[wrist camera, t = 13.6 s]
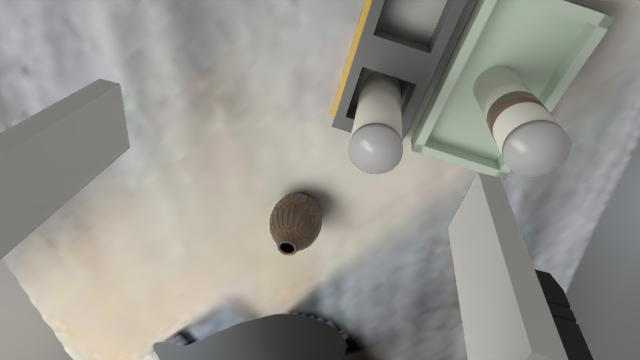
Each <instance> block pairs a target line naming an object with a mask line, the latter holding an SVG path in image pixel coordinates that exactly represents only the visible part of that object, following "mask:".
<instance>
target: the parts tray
mask: <svg viewBox="0 0 640 360" xmlns="http://www.w3.org/2000/svg"><path fill="white" fill-rule="evenodd" d="M615 19H616V18H615V17H613V16H610V15H608V14H605V13H603V12H600V11H597V10H594V9H591V8H588V7H585V6H582V5H579V4H575V3H572V2H569V1H566V0H477V2H476V4H475V6H474V8H473V11H472V13H471V15H470V17H469V19H468V21H467V23H466V25H465V27H464V30H463V32H462V34H461V36H460V38H459V40H458V42H457V44H456V46H455V49H454V51H453V53H452V55H451V57H450V59H449V61H448V63H447V65H446V68H445V70H444V72H443V74H442V76H441V78H440V80H439V82H438V84H437V87H436V89H435V91H434V93H433V95H432V97H431V99H430V101H429V103H428V106H427V108H426V110H425V112H424V114H423V116H422V118H421V120H420V122H419V125H418V127H417V129H416V131H415V133H414V135H413V137H412V139H411V144H412V151H415V152H418V153H421V154H424V155H427V156H430V157H433V158H436V159H440V160H443V161H446V162H449V163H452V164H455V165H458V166H461V167H464V168H467V169H471V170H474V171H477V172H480V173H483V174H487V175H491V176H495V177H499V178H500V179H502V180H504V179H505V177H506V176H507V175H508V173H509V172H510V170H511V169H510V168H509V167H508V166H507V164H506V162H505V160H504V158H503V156H502V154H501V152H500V149H499V147H498V145H497V143H496V142H495V140H494V138H493V136H492V134H491V132H490V130H489V128H488V125H487V122H486V120H485V118H484V116H483V114H482V111H481V109H480V107H479V105H478V103H477V101H476V99H475V97H474V94H473V86H474V83H475V81H476V79H477V77H478V76H479V75H480V74H481V73H482V72H483V71H485V70H486V69H488V68H491V67H494V66H506V67H509V68H511V69H512V70H514V71H515V73H516V74H517V75H518V76H519V77H520V78H521V80H522V81H523V82H524V83H525V84H526V86H527V87H528V88H529V89H530V90H531V92H532V93H533V94H534V95H535V96H536V97H537V98H538V99H539V100H540V101H541V103H542V104H543V105H544V106H545V107H546V108H547V110H548V111H549V113H551V111H552V110H553V108H554V107H555V105H556V104H557V103H558V101H559V100H560V98H561V97H562V95H563V94H564V93H565V91H566V90H567V88H568V87H569V85H570V84H571V82H572V81H573V80H574V78H575V77H576V75H577V74H578V72H579V71H580V70H581V68H582V67H583V65H584V64H585V62H586V61H587V59H588V58H589V57H590V55H591V54H592V52H593V51H594V49H595V48H596V46H597V45H598V44H599V42H600V41H601V39H602V38H603V36H604V35H605V34H606V32H607V31H608V29H609V28H610V26H611V25H612V23H613V22H614V21H615Z"/></svg>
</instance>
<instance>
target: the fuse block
mask: <svg viewBox="0 0 640 360" xmlns="http://www.w3.org/2000/svg"><path fill="white" fill-rule="evenodd" d="M384 1H385V0H366V1H365V4H364V8H363V11H362V14H361V17H360V21H359V24H358V27H357V30H356V33H355V37H354V40H353V43H352V46H351V50H350V53H349V56H348V59H347V62H346V66H345V69H344V72H343V75H342V79H341V82H340V85H339V88H338V92H337V95H336V98H335V101H334V104H333V108H332V111H331V114H330V116H331V117H334V121H333V125H332V127H335V128H338V129H341V130H344V131H347V132H351V133H352V129H353V124H354V120H355V115H356V110H357V109H355V108H352V107H349V105H350V102H351V99H352V96H353V93H354V90H355V87H356V84H357V81H358V78H359V75H360V72H361V69H362V67H364V68H367V69H370V70H373V71H377V72H380V73H383V74H386V75H389V76H392V77H395V78H398V79H401V80H404V81H407V82H410V83H412V84H411V87H410V89H409V91H408V94H407V96H406V98H405V101H404V103H403V105H402V108H401V115H402V142H403V139H404V137H405V135H406V133H407V131H408V129H409V126H410V124H411V122H412V120H413V118H414V115H415V113H416V111H417V109H418V107H419V105H420V102H421V100H422V98H423V96H424V94H425V91H426V89H427V87H428V85H429V83H430V81H431V78H432V76H433V74H434V72H435V70H436V68H437V65H438V63H439V61H440V59H441V57H442V54H443V52H444V50H445V48H446V46H447V44H448V41H449V39H450V37H451V35H452V33H453V30H454V28H455V26H456V24H457V22H458V20H459V17H460V15H461V13H462V11H463V9H464V6H465V4H466V2H467V0H448V1H447V3H446V5H445V8H444V10H443V12H442V15H441V17H440V19H439V22H438V24H437V26H436V29H435V31H434V33H433V36H432V38H431V40H430V43H429V45H428V46H427V45H424V44H421V43H418V42H415V41H412V40H409V39H406V38H402V37H399V36H396V35H393V34H390V33H387V32H384V31H381V30H378V29H375V28H376V25H377V22H378V19H379V16H380V13H381V10H382V7H383V4H384Z"/></svg>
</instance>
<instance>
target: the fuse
mask: <svg viewBox="0 0 640 360" xmlns="http://www.w3.org/2000/svg"><path fill="white" fill-rule="evenodd" d="M348 150H349V157H350V159H351V161H352V163H353V164H354V165H355V166H356V167H357V168H358V169H360V170H362V171H364V172H366V173H370V174H381V173H385V172H388V171H390V170H392V169H393V168H395V167H396V166H397V165H398V163H399V162H400V160H401V158H402V154H403V144H402V115H401V88H400V84H399V82H398V80H397V79H396V78H395V77H392V76H389V75H386V74H383V73H380V72H376V73H373V74H371V75H370V76H368V77H367V78H366V79H365V80H364V82H363V84H362V87H361V91H360V96H359V101H358V105H357V110H356V115H355V120H354V124H353V129H352V134H351V138H350V143H349V149H348Z"/></svg>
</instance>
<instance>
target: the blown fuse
mask: <svg viewBox="0 0 640 360" xmlns="http://www.w3.org/2000/svg"><path fill="white" fill-rule="evenodd" d="M473 94H474V97H475V99H476V101H477V103H478V105H479V107H480V109H481V111H482V114H483V116H484V118H485V120H486V122H487V125H488V128H489V130H490V132H491V134H492V136H493V138H494V140H495V142H496V143H497V145H498V147H499V149H500V152H501V154H502V156H503V158H504V160H505V162H506V164H507V166H508V167H509V168H510V169H511V170H512V171H513V172H515V173H517V174H519V175H523V176H540V175H544V174H546V173H549V172H551V171H553V170H555V169H556V168H557V167H559V166H560V165H561V164H562V163H563V162H564V161H565V160H566V158H567V156H568V154H569V152H570V147H571V143H570V139H569V137H568V135H567V133H566V132H565V131H564V130H563V129H562V127H561V126H560V125H559V124H558V123H557V122H556V120H555V119H554V118H553V117H552V116H551V114H550V113H549V111H548V110H547V108H546V107H545V106H544V105H543V104H542V103H541V101H540V100H539V99H538V98H537V97H536V96H535V95H534V94H533V93H532V92H531V90H530V89H529V88H528V87H527V86H526V84H525V83H524V82H523V81H522V80H521V78H520V77H519V76H518V75H517V74H516V73H515V71H514V70H512V69H511V68H509V67H506V66H494V67H491V68H488V69H486V70H485V71H483V72H482V73H481V74H480V75H479V76H478V77H477V79H476V81H475V83H474V86H473Z"/></svg>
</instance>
